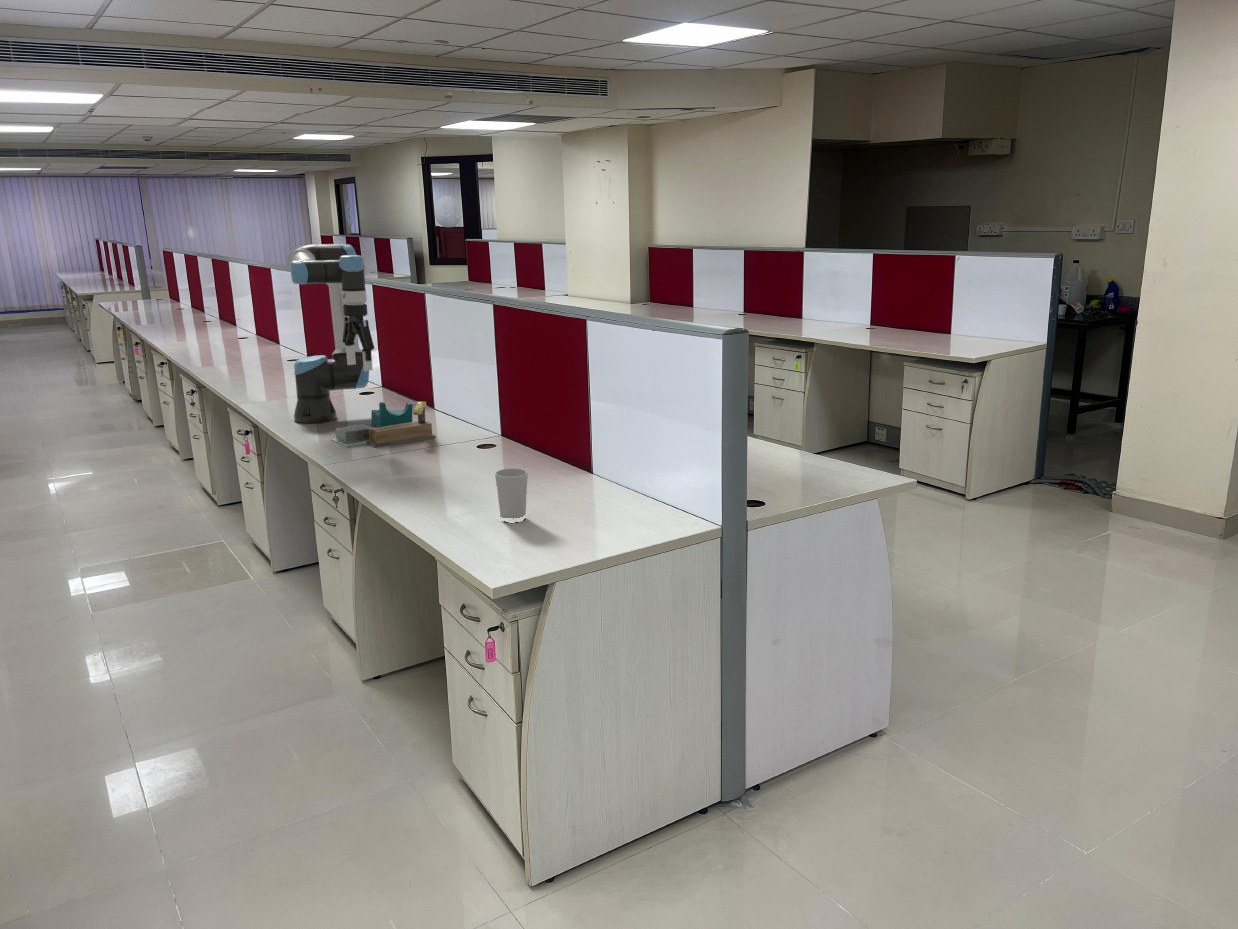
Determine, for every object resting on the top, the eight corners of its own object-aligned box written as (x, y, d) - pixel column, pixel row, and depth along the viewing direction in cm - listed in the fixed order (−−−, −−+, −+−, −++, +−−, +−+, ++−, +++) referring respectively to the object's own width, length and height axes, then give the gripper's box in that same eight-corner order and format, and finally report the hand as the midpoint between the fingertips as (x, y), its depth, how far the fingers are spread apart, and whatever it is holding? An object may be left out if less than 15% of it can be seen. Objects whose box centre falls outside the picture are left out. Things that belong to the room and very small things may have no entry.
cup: (497, 514, 222) (495, 468, 219) (529, 513, 223) (528, 467, 220) (496, 525, 215) (494, 477, 212) (529, 524, 215) (527, 476, 212)
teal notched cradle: (411, 433, 312) (412, 404, 310) (380, 433, 307) (381, 404, 305) (401, 423, 328) (401, 395, 325) (371, 423, 323) (371, 395, 321)
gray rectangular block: (336, 439, 298) (335, 428, 297) (364, 435, 305) (363, 424, 304) (346, 444, 292) (345, 432, 291) (374, 439, 299) (373, 427, 298)
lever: (412, 415, 290) (411, 409, 290) (416, 407, 303) (415, 401, 302) (423, 415, 291) (422, 409, 290) (426, 407, 303) (426, 401, 303)
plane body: (366, 443, 295) (364, 414, 292) (425, 433, 308) (424, 406, 306) (375, 447, 290) (373, 418, 287) (435, 437, 303) (434, 409, 301)
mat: (331, 440, 299) (331, 439, 299) (365, 435, 307) (364, 433, 307) (346, 446, 290) (346, 445, 290) (380, 441, 298) (380, 440, 298)
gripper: (329, 300, 298) (334, 363, 304) (359, 307, 279) (364, 374, 285) (350, 299, 302) (355, 361, 308) (381, 306, 284) (386, 371, 290)
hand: (359, 367), depth 297 cm, fingers open, 13 cm apart
